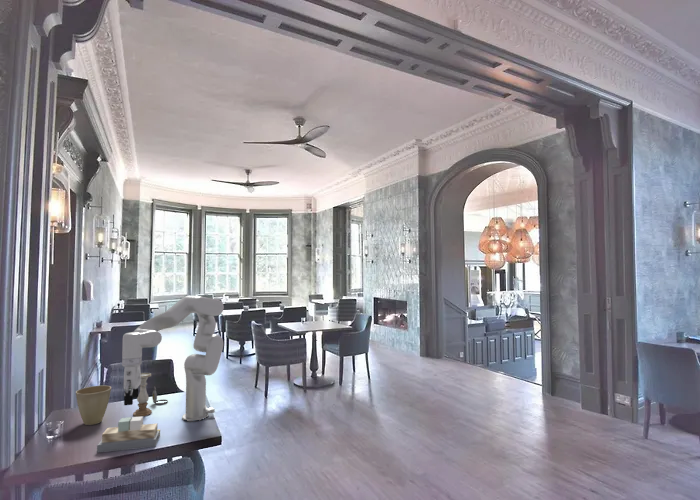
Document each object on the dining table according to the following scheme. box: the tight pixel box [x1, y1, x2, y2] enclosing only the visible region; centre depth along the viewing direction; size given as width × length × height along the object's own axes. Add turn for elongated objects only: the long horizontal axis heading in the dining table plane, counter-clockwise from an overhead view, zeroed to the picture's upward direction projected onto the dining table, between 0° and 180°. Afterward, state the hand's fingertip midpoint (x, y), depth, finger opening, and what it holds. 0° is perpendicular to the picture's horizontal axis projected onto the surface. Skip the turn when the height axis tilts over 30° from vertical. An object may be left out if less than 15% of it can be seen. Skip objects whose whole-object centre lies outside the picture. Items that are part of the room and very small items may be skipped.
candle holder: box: [132, 372, 153, 417], centre depth 213 cm, size 9×9×20 cm
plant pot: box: [75, 385, 112, 426], centre depth 202 cm, size 15×15×16 cm
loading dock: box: [96, 429, 161, 453], centre depth 177 cm, size 22×11×3 cm, turn 105°
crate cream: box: [130, 416, 144, 431], centre depth 178 cm, size 4×5×4 cm
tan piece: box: [101, 423, 159, 443], centre depth 177 cm, size 20×7×4 cm, turn 105°
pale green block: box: [117, 416, 133, 432], centre depth 176 cm, size 4×5×4 cm
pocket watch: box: [151, 386, 169, 405], centre depth 230 cm, size 8×8×10 cm
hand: (131, 401), depth 177 cm, fingers open, 9 cm apart
